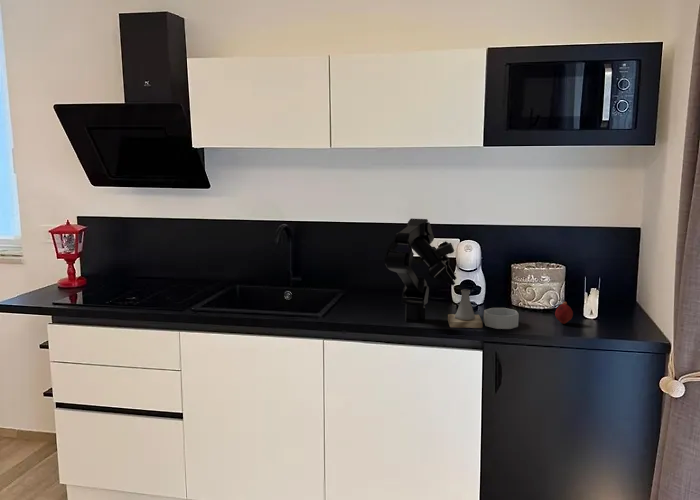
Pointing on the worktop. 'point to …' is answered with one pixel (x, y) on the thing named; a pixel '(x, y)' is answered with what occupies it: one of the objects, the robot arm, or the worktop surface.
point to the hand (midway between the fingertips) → (455, 281)
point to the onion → (564, 313)
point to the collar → (501, 318)
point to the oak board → (464, 322)
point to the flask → (465, 307)
